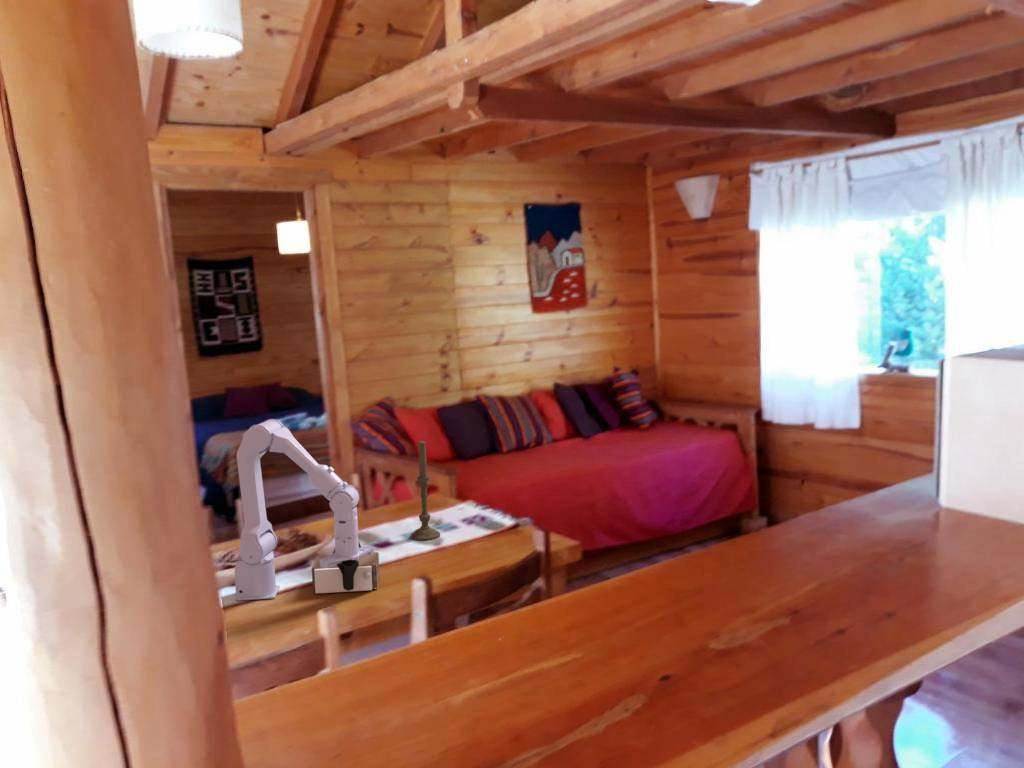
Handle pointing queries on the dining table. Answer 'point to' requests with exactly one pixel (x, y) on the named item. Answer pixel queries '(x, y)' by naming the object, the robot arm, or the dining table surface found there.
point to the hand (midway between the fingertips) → (348, 589)
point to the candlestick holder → (424, 500)
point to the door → (333, 580)
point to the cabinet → (363, 561)
